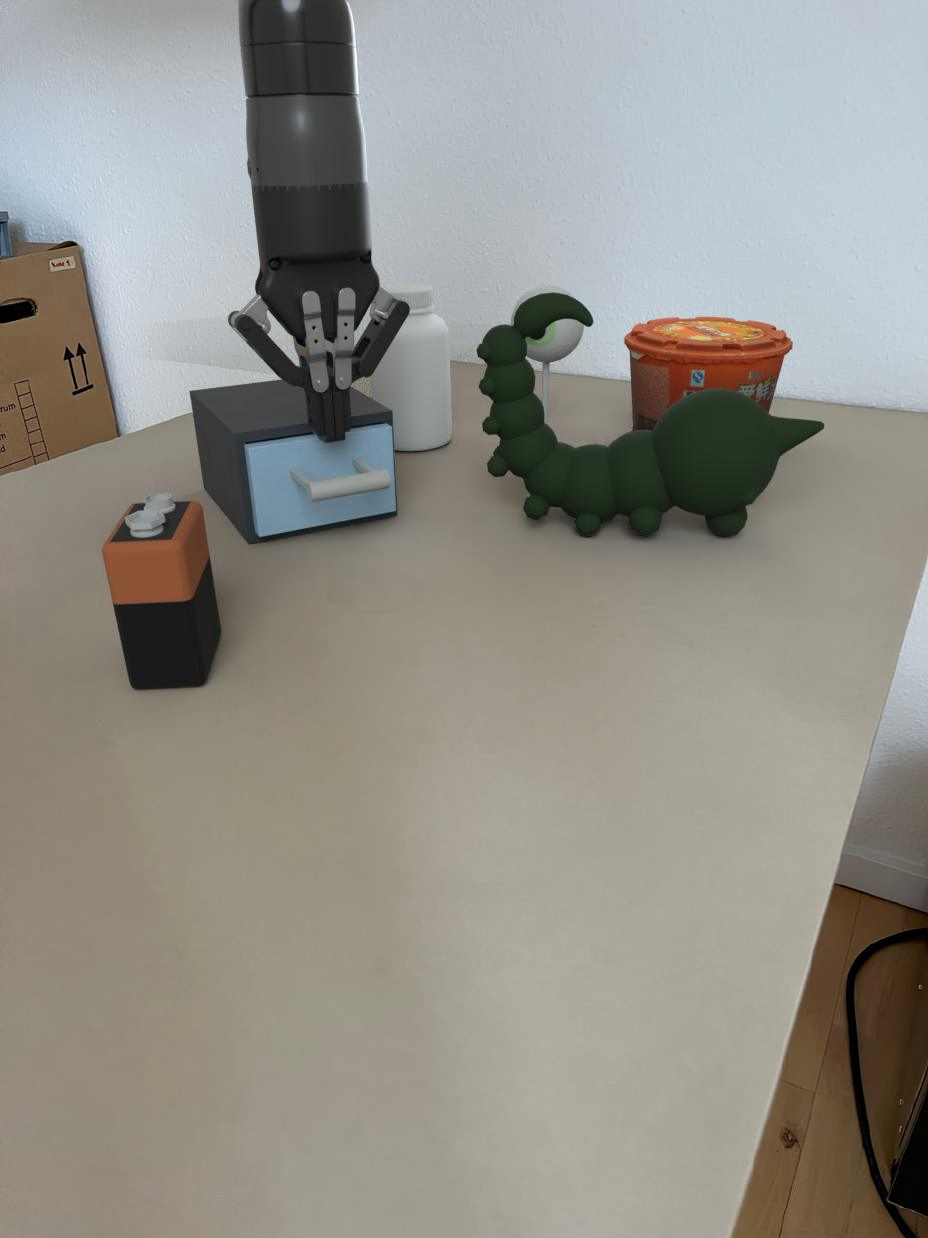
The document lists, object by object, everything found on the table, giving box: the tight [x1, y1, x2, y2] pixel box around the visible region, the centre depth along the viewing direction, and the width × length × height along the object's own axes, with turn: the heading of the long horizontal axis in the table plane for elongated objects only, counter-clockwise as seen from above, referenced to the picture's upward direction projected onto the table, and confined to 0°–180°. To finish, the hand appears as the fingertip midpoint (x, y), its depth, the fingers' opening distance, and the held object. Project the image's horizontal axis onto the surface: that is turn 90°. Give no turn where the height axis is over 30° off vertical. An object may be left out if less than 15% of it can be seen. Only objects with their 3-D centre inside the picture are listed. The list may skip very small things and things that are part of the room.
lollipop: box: [510, 284, 585, 426], centre depth 93 cm, size 7×7×15 cm
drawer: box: [244, 423, 396, 537], centre depth 75 cm, size 19×11×7 cm, turn 27°
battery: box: [101, 492, 222, 690], centre depth 54 cm, size 4×7×10 cm, turn 5°
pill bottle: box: [369, 283, 453, 452], centre depth 93 cm, size 8×8×15 cm
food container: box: [623, 316, 794, 431], centre depth 94 cm, size 16×16×11 cm
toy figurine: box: [475, 292, 825, 538], centre depth 71 cm, size 9×19×25 cm
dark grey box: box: [188, 378, 398, 545], centre depth 79 cm, size 15×13×9 cm
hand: (331, 438), depth 69 cm, fingers closed
